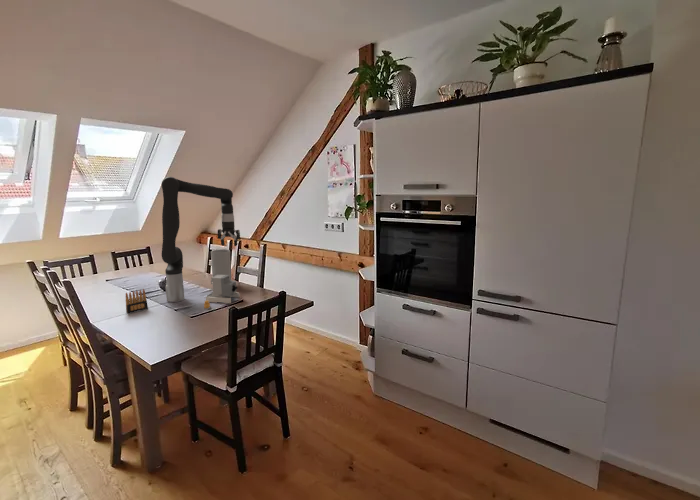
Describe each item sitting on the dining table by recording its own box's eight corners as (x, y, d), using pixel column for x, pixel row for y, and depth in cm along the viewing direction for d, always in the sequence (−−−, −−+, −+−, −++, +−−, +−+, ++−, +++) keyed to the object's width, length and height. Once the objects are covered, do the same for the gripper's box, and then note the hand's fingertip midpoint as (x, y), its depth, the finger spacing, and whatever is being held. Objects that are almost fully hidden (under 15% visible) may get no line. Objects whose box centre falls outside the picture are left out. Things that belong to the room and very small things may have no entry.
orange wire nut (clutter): (203, 308, 209) (202, 301, 208) (206, 306, 212) (205, 300, 211) (208, 308, 209) (207, 302, 208) (211, 306, 212) (210, 300, 211)
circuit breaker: (234, 302, 219) (232, 278, 216) (212, 301, 221) (210, 277, 218) (239, 298, 227) (238, 275, 224) (218, 297, 229) (216, 274, 226)
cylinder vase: (228, 288, 247) (226, 253, 242) (210, 288, 247) (207, 252, 242) (234, 283, 259) (232, 249, 254) (217, 283, 259) (214, 249, 254)
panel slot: (206, 301, 220) (205, 295, 219) (216, 295, 232) (215, 290, 231) (230, 303, 217) (230, 297, 217) (239, 297, 229) (239, 291, 228)
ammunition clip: (127, 313, 200) (125, 293, 197) (126, 312, 201) (123, 292, 199) (148, 308, 208) (145, 288, 205) (146, 308, 209) (144, 288, 207)
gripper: (214, 220, 224) (216, 246, 227) (235, 221, 222) (237, 247, 225) (220, 219, 232) (222, 244, 235) (241, 220, 229) (242, 245, 232)
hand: (229, 245), depth 230 cm, fingers open, 8 cm apart
